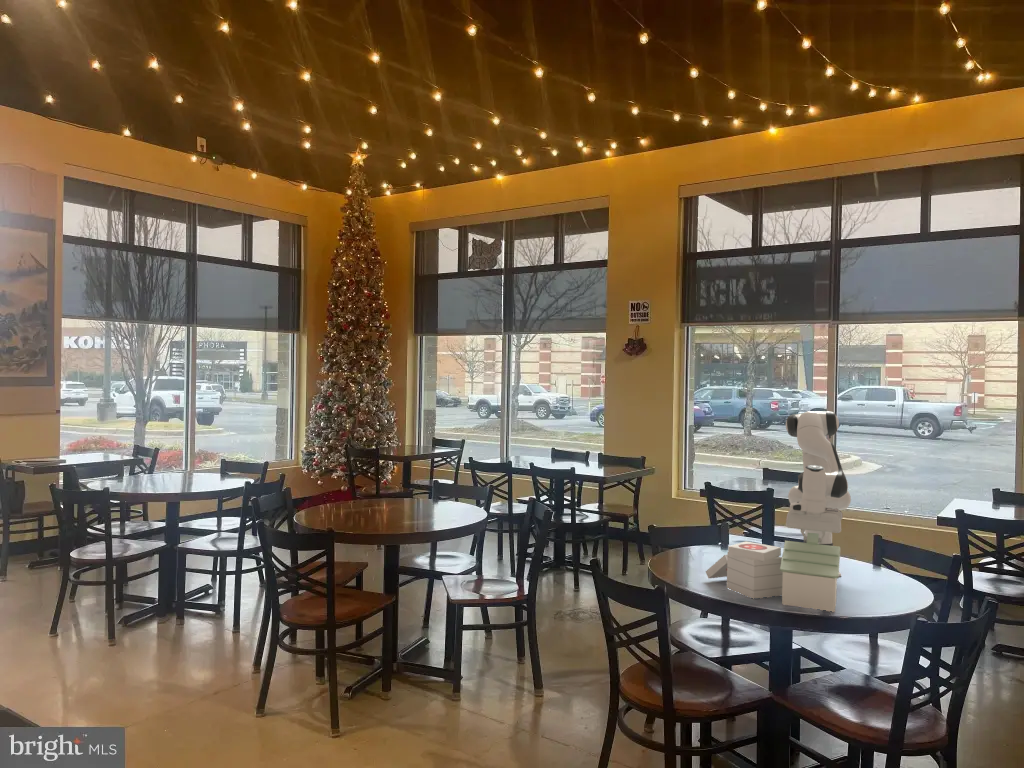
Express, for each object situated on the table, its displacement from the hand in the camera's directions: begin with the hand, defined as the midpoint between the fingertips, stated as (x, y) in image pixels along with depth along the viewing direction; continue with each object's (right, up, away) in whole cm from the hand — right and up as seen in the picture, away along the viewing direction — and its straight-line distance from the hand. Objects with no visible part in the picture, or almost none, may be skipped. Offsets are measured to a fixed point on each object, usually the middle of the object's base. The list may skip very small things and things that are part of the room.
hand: (812, 541), depth 280 cm
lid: (-4, -5, -7) cm, 10 cm away
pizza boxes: (-25, -21, +6) cm, 33 cm away
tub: (-6, -21, -12) cm, 24 cm away
